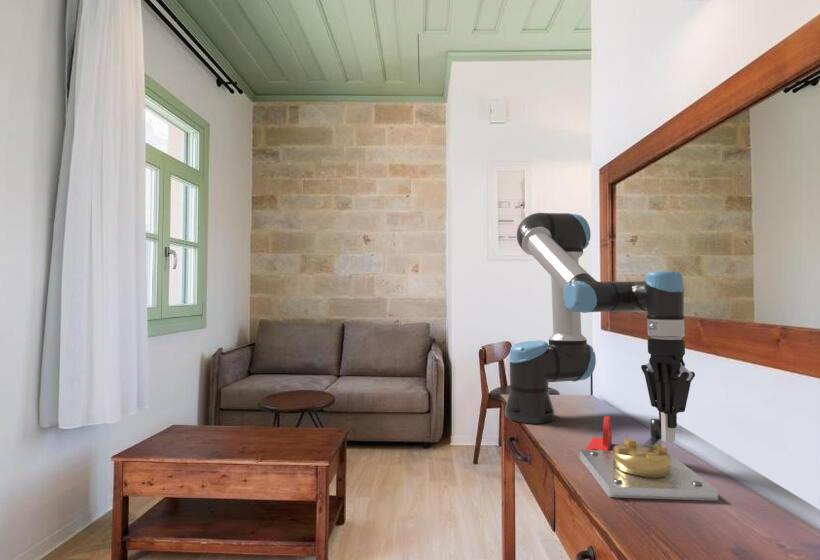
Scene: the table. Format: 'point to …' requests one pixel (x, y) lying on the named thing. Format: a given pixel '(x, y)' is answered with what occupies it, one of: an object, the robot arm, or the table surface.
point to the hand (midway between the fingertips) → (668, 441)
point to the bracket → (607, 437)
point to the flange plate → (647, 480)
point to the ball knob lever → (644, 455)
